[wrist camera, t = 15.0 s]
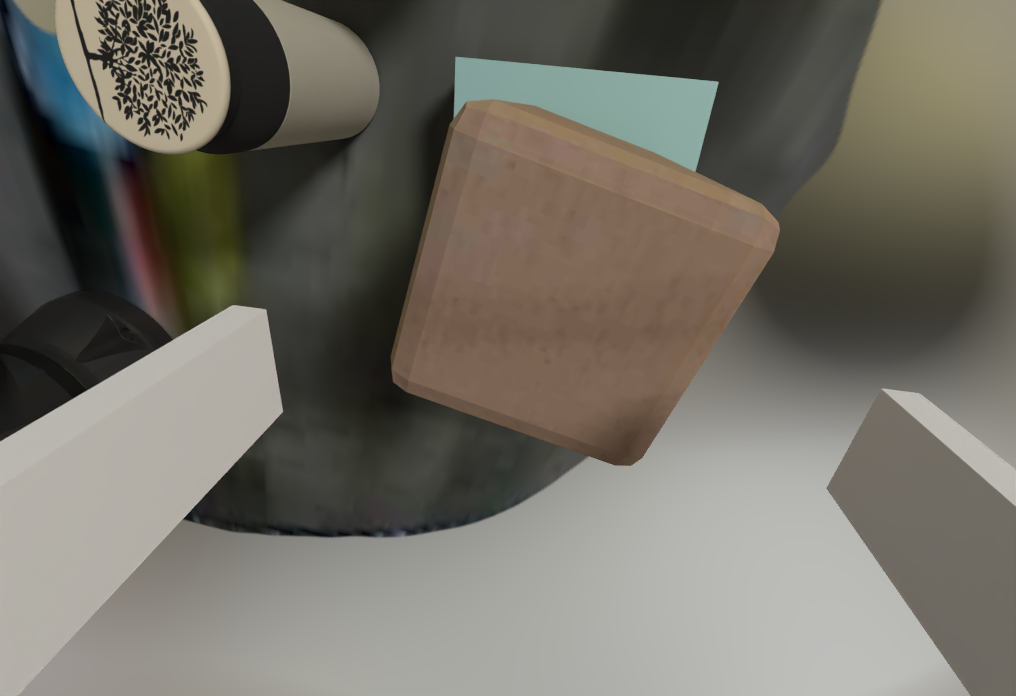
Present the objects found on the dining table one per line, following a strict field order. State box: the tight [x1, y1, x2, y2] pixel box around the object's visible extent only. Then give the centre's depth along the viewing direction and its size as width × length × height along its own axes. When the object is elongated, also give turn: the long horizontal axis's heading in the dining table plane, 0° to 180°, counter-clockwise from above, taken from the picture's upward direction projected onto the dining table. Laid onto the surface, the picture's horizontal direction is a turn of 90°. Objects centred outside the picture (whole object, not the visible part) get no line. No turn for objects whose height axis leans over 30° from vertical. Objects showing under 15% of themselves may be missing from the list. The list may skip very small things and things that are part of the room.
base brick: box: [454, 57, 718, 172], centre depth 35 cm, size 16×16×6 cm
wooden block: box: [391, 99, 780, 466], centre depth 23 cm, size 10×10×20 cm
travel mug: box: [55, 0, 380, 154], centre depth 28 cm, size 8×8×18 cm
